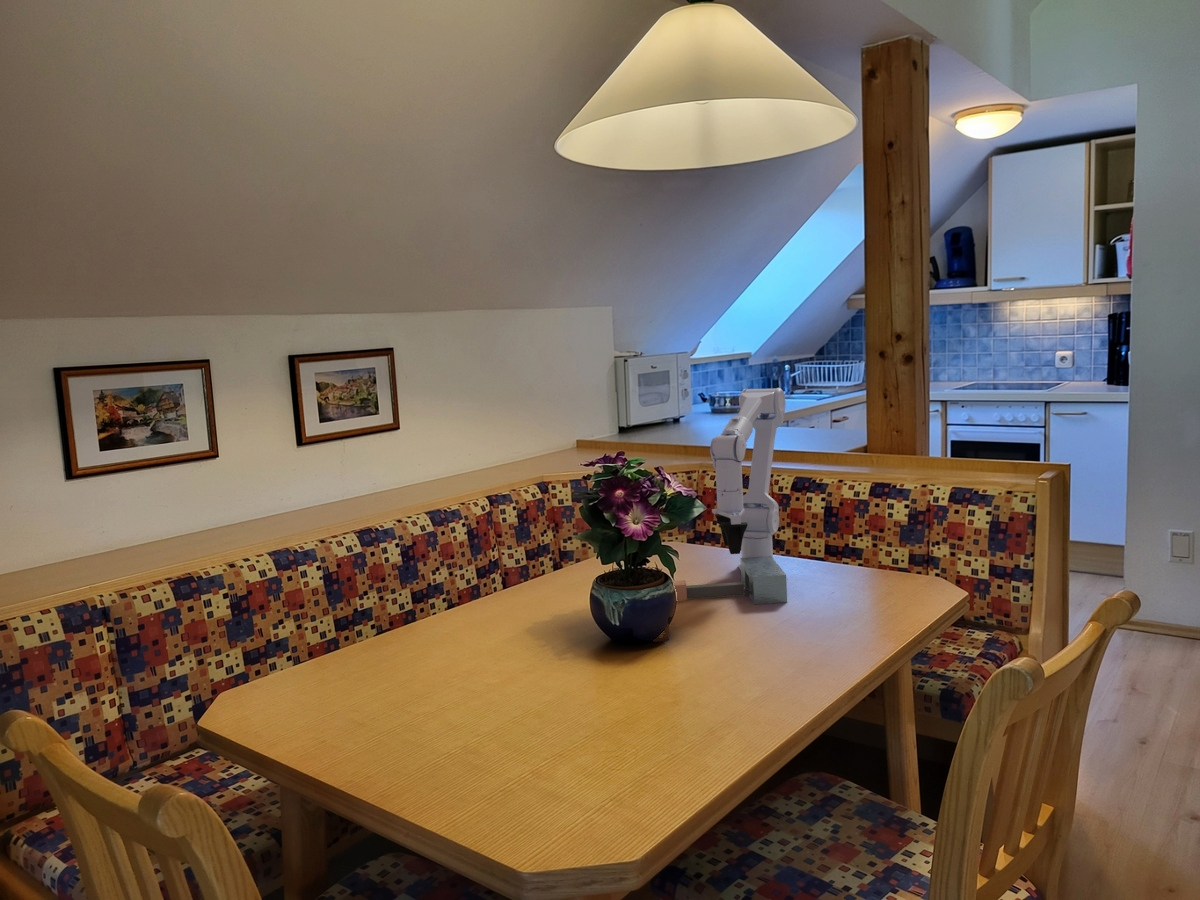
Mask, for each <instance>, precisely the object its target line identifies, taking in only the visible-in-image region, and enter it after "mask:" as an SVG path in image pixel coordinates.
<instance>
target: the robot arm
mask: <svg viewBox="0 0 1200 900" xmlns="http://www.w3.org/2000/svg"><path fill="white" fill-rule="evenodd" d="M785 396H786V395H785V392H784V390H783V389H782V388H781V387H776V388H743V389H742V390H741V392H740V394H739V399H738V401H739V402H738V403H739V408H740V410H739V411H738V413H737V415H736V416H735V415H734V416H732V417H731V418H730V419H729V421H728V422H727V424H726V426H725V427H724V429H723V430H722V432H721V434H720V435H719V434H717V435H716V436H715V437H713V438H711V441H710V448H709V454H710V457H711V460H712V468H713V470H715V481H716V482H715V484H716V485H715V486H716V506H717V507H716V508H712V509H711V512H712V514H713V515H714V517H715V519H716V520H717V522H718V525H719V527H720V531H721V535H722V540H723V544H724V546H725V547H728V550H729V553H730V555H740V554H741V558H746V557H761V556H771V557H772V558H773V559H774V555H773V554H774V553H773V552H774V549H773V535H775V533H776V532H777V531H778V529H779V527H780V526H779V525H780V514H779V511H780V510H779V509H780V507H779V504H778V502H777V501H776V500H775V498H772V496H770V495H769V492H770V485H771V484H770V483H771V478H772V477H771V475H772V474H771V473H772V468H773V466H772V465H773V458H774V450H775V449H774V448H775V440H776V435H777V434H776V433H777V428H779V427H781V426H782V425H783V424H784V419H785V412H786V403H787V402H786V397H785ZM753 428H754V439H753V448H752V457H751V465H750V466H751V467H750V473H749V482H748V483H749V484H748V489H747V492H746V493H745V494H744V491H743V490H744V489H743V488H744V487H743V486H744V485H743V470H742V469H743V468H742V467H743V466H742V464H743V463H742V462H743V460H744V459H745V456H746V450H747V442H748V440H749V438H750V437H751V435H752V433H753ZM737 567H738V568H739V570H740V571H741V563H737Z"/></svg>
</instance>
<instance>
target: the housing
mask: <svg viewBox="0 0 1200 900" xmlns="http://www.w3.org/2000/svg"><path fill="white" fill-rule="evenodd" d="M739 558H740V564H741V570H740V577H741V579H740V580H741V581H740V582H743V584H744V591H749V592H748V593H749V598H750V599H751V602H752V603H753V604H754V605H766V604H780V603H784V604H785V603H788V592H787V591H788V587H787V583H788V582H787V574H786V573H785V571H784V570H783V569H782V567H781V566H780V565H779V564H778V562H777V561H776V560H775V559H774V557H773V558H772V557H771V556H761V557H746V558H742V557H739Z"/></svg>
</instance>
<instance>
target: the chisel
mask: <svg viewBox="0 0 1200 900" xmlns="http://www.w3.org/2000/svg"><path fill="white" fill-rule="evenodd" d="M672 581H673V583H674V586H675V589H676V592H677V600H678V601H677V602H679V601H681V602H682V601H688V600H694V599H710V598H712V599H713V598H725V597H739V596H745V588H744V584H743V582H741V581H737V582H736V581H735V582H734V581H733V582H721V583H719V582H718V583H706V584H703V583H702V584H691V585H687V583H686V581H685V580H672Z"/></svg>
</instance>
